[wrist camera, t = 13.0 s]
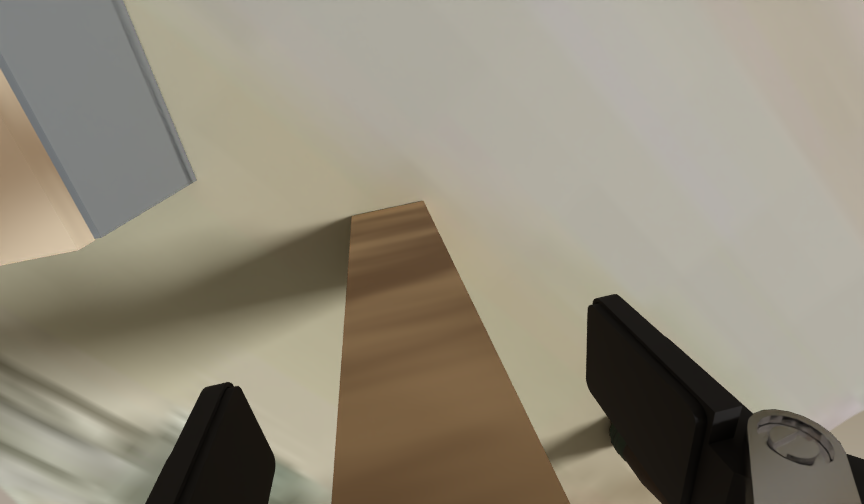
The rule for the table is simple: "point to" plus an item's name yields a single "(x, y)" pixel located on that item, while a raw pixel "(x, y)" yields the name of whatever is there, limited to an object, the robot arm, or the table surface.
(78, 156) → the grey open box
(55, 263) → the table surface
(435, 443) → the brown wooden bar
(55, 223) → the lid
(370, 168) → the table surface
